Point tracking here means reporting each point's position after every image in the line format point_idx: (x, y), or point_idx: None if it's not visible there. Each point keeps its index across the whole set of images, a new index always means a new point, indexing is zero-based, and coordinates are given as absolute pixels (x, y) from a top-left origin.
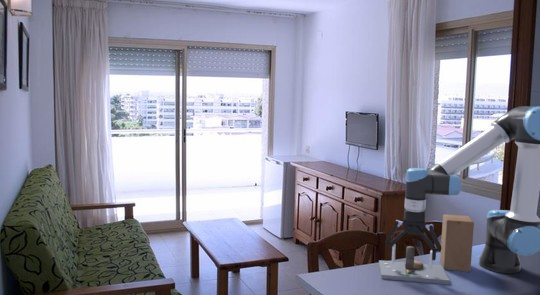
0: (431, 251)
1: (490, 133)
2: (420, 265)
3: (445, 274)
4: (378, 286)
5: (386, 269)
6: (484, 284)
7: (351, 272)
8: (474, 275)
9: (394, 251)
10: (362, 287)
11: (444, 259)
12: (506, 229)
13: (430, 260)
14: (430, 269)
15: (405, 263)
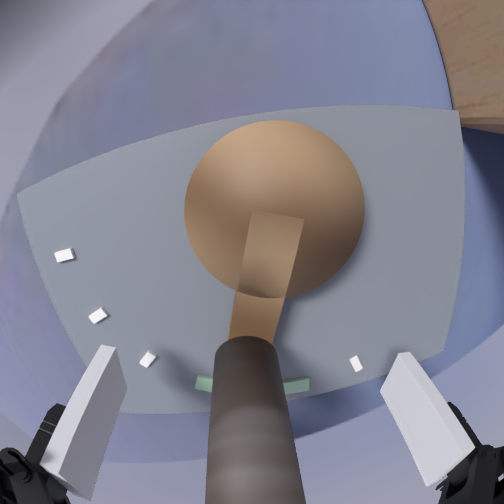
0: (445, 473)
1: None
2: (338, 257)
3: (454, 285)
4: (148, 446)
5: None
6: None
7: (15, 358)
8: None
9: (96, 454)
10: (113, 452)
11: (501, 123)
12: None
13: (408, 435)
14: (398, 231)
15: (198, 258)
